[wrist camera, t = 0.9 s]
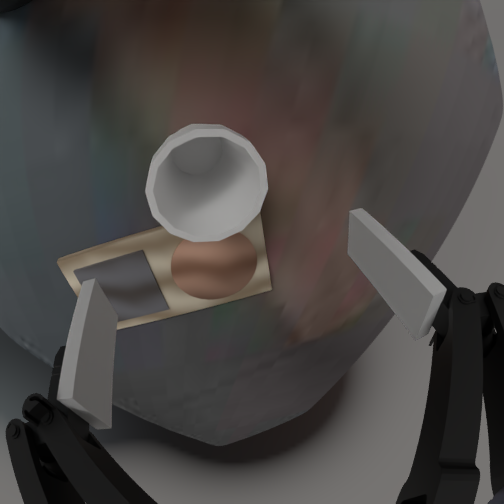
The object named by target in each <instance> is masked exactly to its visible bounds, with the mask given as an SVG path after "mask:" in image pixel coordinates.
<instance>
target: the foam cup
mask: <svg viewBox="0 0 504 504" xmlns="http://www.w3.org/2000/svg"><path fill="white" fill-rule="evenodd" d="M267 191H268V183H267V174H266V165H265V163H264V161H263V160H262V158H261V157H260V155H259V154H258V152H257V151H256V149H255V148H254V146H253V145H252V144H251V142H250V141H249V140H247V139H246V138H245V137H244V136H242V135H241V134H239V133H237V132H235V131H233V130H231V129H229V128H227V127H225V126H223V125H221V124H190V125H188V126H186V127H184V128H182V129H180V130H179V131H177V132H176V133H174V134H172V135H170V136H169V137H168V138H167V139H166V141H165V142H164V143H163V144H162V145H161V147H160V148H159V149H158V150H157V152H156V153H155V154H154V156H153V157H152V161H151V164H150V169H149V174H148V179H147V184H146V189H145V193H146V196H147V199H148V203H149V206H150V209H151V212H152V215H153V217H154V218H155V219H156V220H157V221H158V222H159V223H160V224H161V225H162V226H163V227H164V228H165V229H166V230H167V231H168V232H169V233H170V234H173V235H175V236H178V237H181V238H183V239H186V240H189V241H192V242H210V241H220V240H222V239H225V238H227V237H229V236H231V235H233V234H236V233H238V232H240V231H242V230H243V229H244V228H245V227H246V226H247V225H248V224H249V223H250V222H251V221H252V220H253V219H254V218H255V217H256V216H257V215H258V214H259V212H260V210H261V207H262V204H263V202H264V199H265V196H266V193H267Z"/></svg>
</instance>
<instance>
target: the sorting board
mask: <svg viewBox="0 0 504 504" xmlns="http://www.w3.org/2000/svg"><path fill="white" fill-rule="evenodd" d="M57 264H58V265H59V267H60V269H61V271H62V272H63V274H64V276H65V277H66V279H67V281H68V282H69V284H70V286H71V287H72V289H73V290H74V292H75V294H76V295H77V297H79V293H80V290H81V287H82V283H83V281H87V280H90V279H94V278H96V280H97V282H98V283H99V285H100V287H101V289H102V290H103V292H104V294H105V295H106V297H107V299H108V300H109V302H110V304H111V305H112V307H113V308H114V310H115V312H116V313H117V315H118V321H117V330H118V329H122V328H127V327H131V326H135V325H140V324H144V323H148V322H152V321H156V320H160V319H165V318H169V317H173V316H177V315H181V314H185V313H189V312H192V311H196V310H200V309H204V308H208V307H212V306H215V305H219V304H223V303H227V302H230V301H234V300H238V299H241V298H245V297H248V296H252V295H256V294H259V293H263V292H266V291H270V290H272V287H271V280H270V273H269V267H268V260H267V253H266V247H265V240H264V234H263V227H262V221H261V214H260V212H259V214H258V215H257V216H256V217H255V218H254V219H253V220H252V221H251V222H250V223H249V224H248V225H247V226H246V227H245V228H244V229H243V230H242V231H240V232H238V233H236V234H233V235H231V236H229V237H227V238H225V239H222V240H220V241H210V242H192V241H189V240H186V239H183V238H181V237H178V236H175V235H173V234H170V233H169V232H168V231H167V230H166V229H165V228H164V227H163V226H160V227H157V228H153V229H150V230H146V231H143V232H139V233H136V234H133V235H129V236H126V237H123V238H120V239H116V240H113V241H110V242H107V243H104V244H100V245H97V246H94V247H91V248H88V249H85V250H82V251H79V252H76V253H73V254H70V255H67V256H64V257H61V258H59V259H58V261H57Z"/></svg>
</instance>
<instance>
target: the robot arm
mask: <svg viewBox="0 0 504 504" xmlns="http://www.w3.org/2000/svg"><path fill="white" fill-rule="evenodd" d="M30 1H32V0H0V12H7V11H11V10H14V9H16V8H19V7H21V6H23V5H25V4H27V3H29V2H30ZM347 254H348V255H349V256H350V258H351V259H352V260H353V261H354V262H355V264H356V265H357V266H358V267H359V268H360V270H361V271H362V272H363V273H364V275H365V276H366V277H367V278H368V280H369V281H370V282H371V283H372V285H373V286H374V287H375V288H376V290H377V291H378V292H379V293H380V295H381V296H382V297H383V299H384V300H385V301H386V302H387V304H388V305H389V306H390V308H391V309H392V310H393V312H394V313H395V314H396V316H397V317H398V318H399V319H400V321H401V322H402V324H403V325H404V326H405V328H406V329H407V330H408V332H409V333H410V334H411V336H412V337H413V339H414V340H415V341H416V340H418V339H420V338H422V337H423V336H425V335H427V334H428V333H429V330H430V328H431V326H433V327H434V328H435V330H436V331H435V333H434V335H433V337H432V339H431V341H430V344H429V346H431V345H432V343H433V341H434V345H433V356H432V366H431V375H430V383H429V390H428V396H427V403H426V408H425V414H424V419H423V424H422V429H421V434H420V438H419V442H418V446H417V450H416V454H415V458H414V461H413V465H412V468H411V472H410V475H409V477H408V479H407V481H406V483H405V484H404V485H403V487H402V489H401V492H400V494H399V496H398V499H397V501H396V504H474V501H475V497H476V493H477V489H478V485H479V480H480V471H479V469H478V468H477V467H476V465H475V458H476V453H477V445H478V439H479V431H480V422H481V411H482V395H483V397H484V403H485V410H486V418H487V426H488V436H489V450H490V473H491V485H492V490H493V495H494V497H493V499H492V500H490V501H489V502H488V504H504V285H502V284H500V283H492V284H491V285H490V286H489V287H488V290H487V292H484V293H477V294H475V293H474V292H473V291H471V290H470V289H467V288H461V287H460V288H457V287H456V286H455V285H454V284H453V283H452V282H451V281H450V280H449V279H448V278H447V277H446V276H445V275H444V274H443V273H442V272H441V271H440V270H439V269H438V268H437V267H436V266H435V265H434V264H433V263H431V261H430V260H429V259H428V258H427V257H426V256H425V255H424V254H422V253H420V252H418V251H416V250H412V251H409V250H408V249H407V248H406V247H405V246H403V245H402V244H401V243H400V242H399V241H398V240H397V239H396V238H395V237H394V236H393V235H392V234H391V233H390V232H388V231H387V230H386V229H385V228H384V227H383V226H382V225H381V224H380V223H378V222H377V221H376V220H375V219H374V218H373V217H372V216H371V215H369V214H368V213H367V212H366V211H365V210H364V209H362V208H359V209H355V210H351V211H349V234H348V252H347ZM117 321H118V315H117V313H116V312H115V310H114V308H113V307H112V305H111V304H110V302H109V300H108V299H107V297H106V295H105V294H104V292H103V290H102V289H101V287H100V285H99V283H98V282H97V280H96V278H94V279H90V280H87V281H83V283H82V287H81V290H80V293H79V297H78V300H77V304H76V308H75V311H74V315H73V319H72V323H71V327H70V331H69V335H68V340H67V344H66V346H62V347H60V349H59V351H58V353H57V354H56V356H55V361H54V368H53V371H52V377H51V381H50V387H49V393H48V400H47V399H45V398H44V397H43V396H42V395H41V394H37V393H35V394H31V395H30V396H28V398H27V399H26V400H25V402H24V404H23V408H22V414H23V417H24V418H25V419H26V420H28V421H29V422H27V423H24V422H22V421H21V420H19V419H13V420H11V421H10V422H9V424H8V425H7V428H6V440H7V445H8V449H9V454H10V457H11V462H12V466H13V470H14V473H15V477H16V480H17V483H18V486H19V490H20V493H21V495H22V499H23V501H24V504H85V502H86V504H157V502H155V501H154V500H153V499H152V498H151V497H150V496H149V495H148V494H147V493H146V492H145V491H143V489H142V488H141V487H139V486H138V485H137V484H136V483H135V481H134V480H132V478H131V477H130V476H129V475H128V474H127V473H126V472H125V471H124V470H123V469H122V468H121V467H120V466H119V465H118V463H117V462H116V461H115V460H114V459H113V458H112V457H111V455H110V454H109V453H108V452H107V451H106V450H105V449H104V447H103V446H102V445H101V444H100V442H99V441H98V440H97V439H96V438H95V436H94V435H93V434H92V433H91V432H90V431H89V424H90V425H92V426H93V427H94V428H96V429H108V428H111V425H112V424H111V422H112V421H111V419H112V417H111V416H112V381H113V364H114V351H115V340H116V330H117ZM494 328H495V329H496V331H497V333H496V332H495V329H494ZM84 501H85V502H84Z"/></svg>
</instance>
